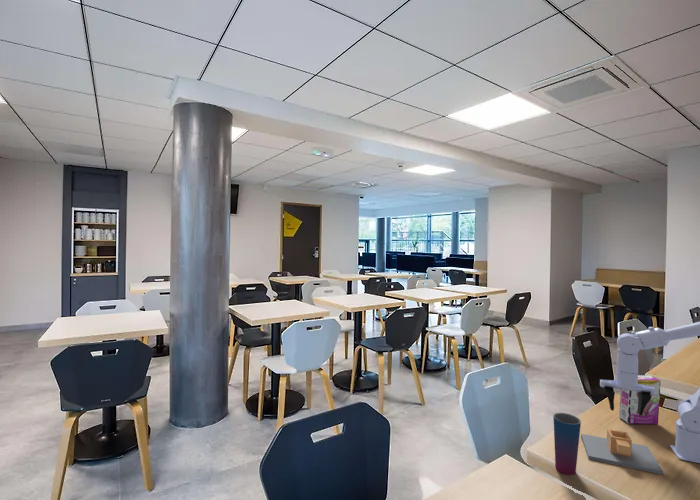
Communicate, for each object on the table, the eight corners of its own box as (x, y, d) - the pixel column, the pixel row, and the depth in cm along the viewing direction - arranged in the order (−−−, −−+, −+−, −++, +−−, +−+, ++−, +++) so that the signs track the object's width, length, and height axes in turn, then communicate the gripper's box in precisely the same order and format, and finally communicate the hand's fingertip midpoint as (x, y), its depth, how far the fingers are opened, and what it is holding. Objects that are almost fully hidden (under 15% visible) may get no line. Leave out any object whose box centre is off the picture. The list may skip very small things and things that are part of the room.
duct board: (647, 449, 118) (647, 435, 118) (663, 474, 106) (663, 459, 106) (581, 436, 126) (581, 423, 126) (588, 458, 113) (588, 444, 113)
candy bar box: (629, 425, 134) (630, 379, 133) (618, 418, 139) (620, 374, 138) (659, 425, 134) (661, 379, 134) (648, 418, 139) (649, 374, 139)
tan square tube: (606, 444, 119) (607, 428, 119) (626, 447, 117) (626, 432, 117) (613, 459, 111) (613, 442, 111) (634, 463, 109) (635, 446, 109)
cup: (552, 472, 106) (553, 420, 106) (551, 460, 112) (553, 410, 112) (580, 480, 103) (581, 426, 102) (578, 466, 109) (580, 416, 108)
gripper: (650, 370, 124) (648, 410, 125) (598, 363, 130) (597, 402, 130) (657, 377, 118) (656, 420, 118) (602, 370, 123) (601, 411, 124)
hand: (625, 411), depth 124 cm, fingers open, 7 cm apart
